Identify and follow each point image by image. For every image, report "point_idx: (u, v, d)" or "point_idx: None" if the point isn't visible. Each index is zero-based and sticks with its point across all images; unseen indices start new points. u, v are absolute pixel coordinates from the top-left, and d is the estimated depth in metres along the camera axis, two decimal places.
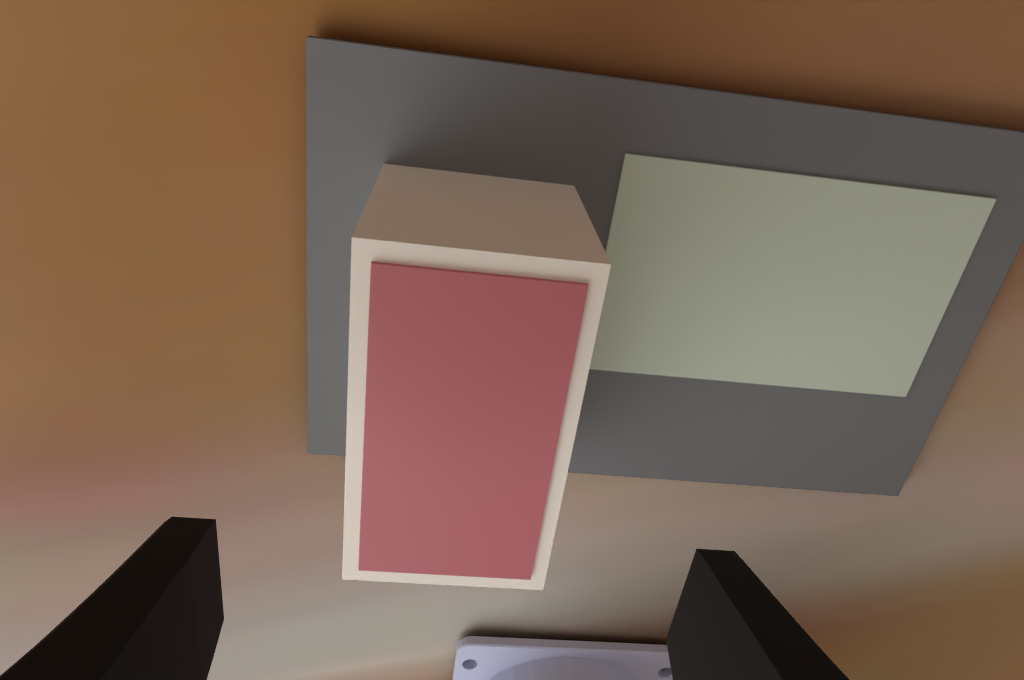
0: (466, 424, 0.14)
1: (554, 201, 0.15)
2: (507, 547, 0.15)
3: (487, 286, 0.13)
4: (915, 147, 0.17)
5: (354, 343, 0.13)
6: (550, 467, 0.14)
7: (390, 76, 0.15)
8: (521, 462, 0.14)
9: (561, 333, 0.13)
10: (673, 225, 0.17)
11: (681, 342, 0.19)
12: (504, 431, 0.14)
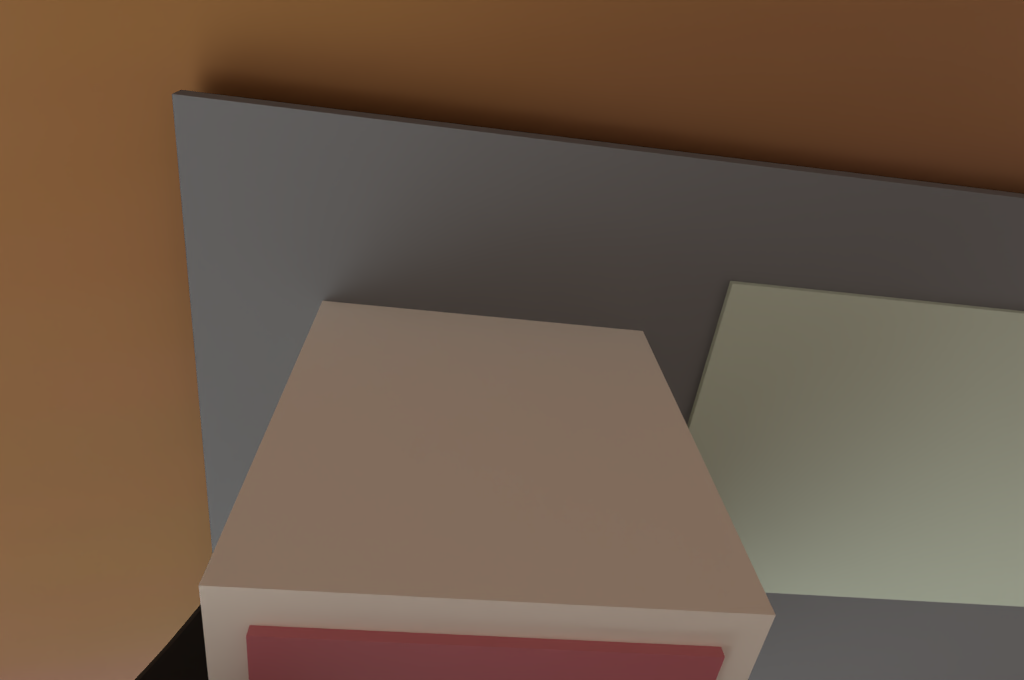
0: None
1: (618, 382, 0.09)
2: None
3: (507, 657, 0.06)
4: None
5: None
6: None
7: (328, 160, 0.09)
8: None
9: None
10: (800, 387, 0.11)
11: (795, 547, 0.12)
12: None
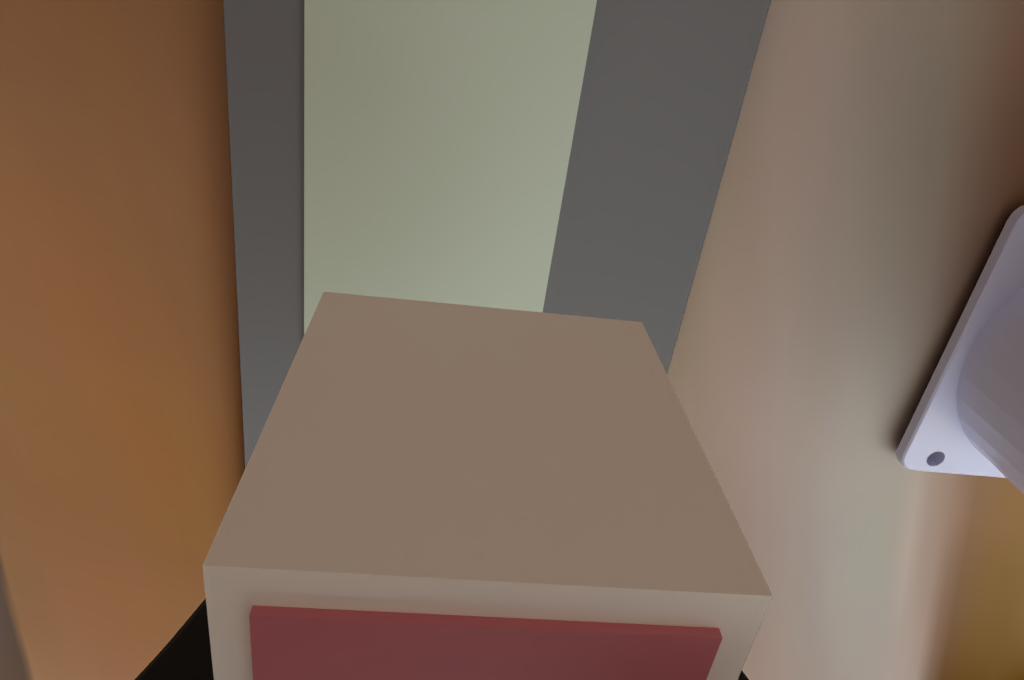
0: None
1: (617, 371, 0.09)
2: None
3: (507, 639, 0.06)
4: (257, 44, 0.14)
5: None
6: None
7: None
8: None
9: None
10: (371, 293, 0.17)
11: (507, 270, 0.17)
12: None
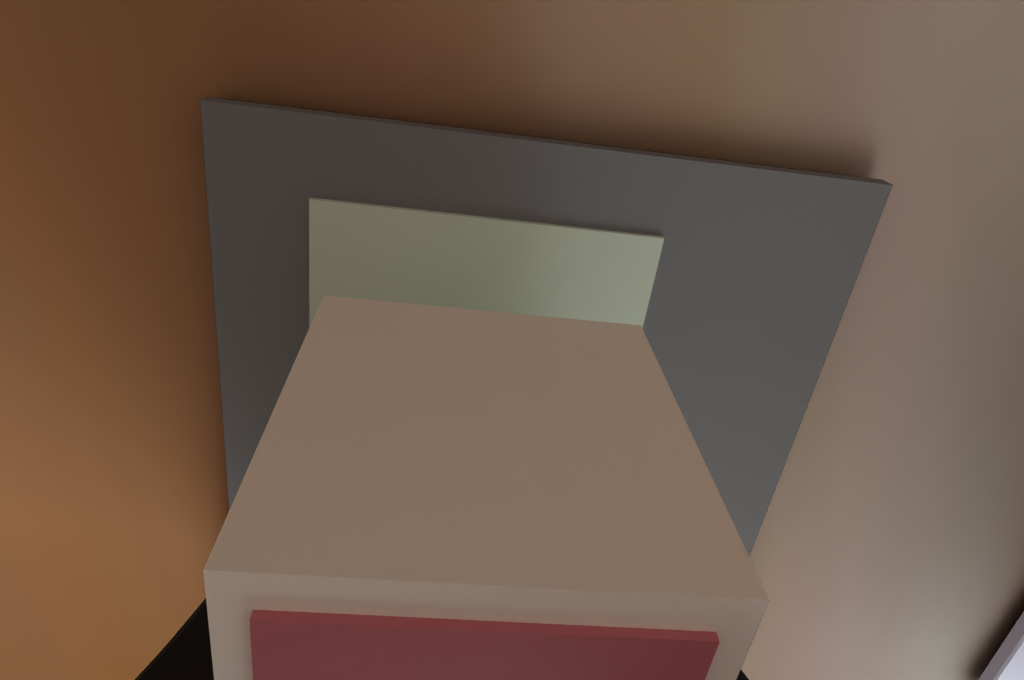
0: None
1: (616, 375, 0.09)
2: None
3: (504, 642, 0.06)
4: (253, 330, 0.12)
5: None
6: None
7: None
8: None
9: None
10: None
11: None
12: None
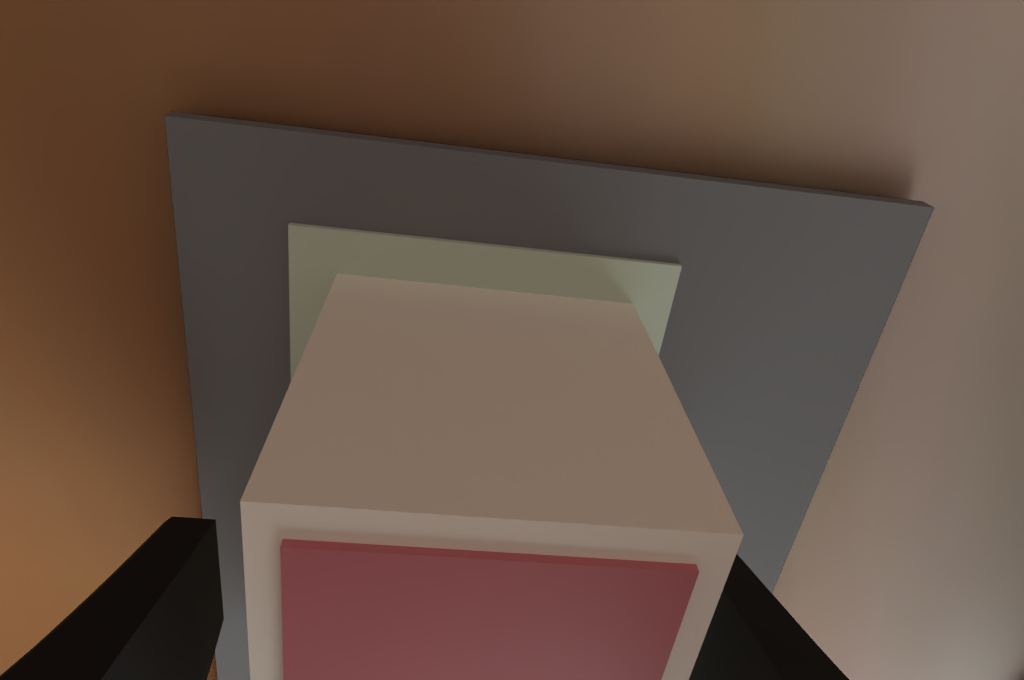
0: None
1: (609, 346, 0.10)
2: None
3: (507, 572, 0.07)
4: (229, 366, 0.11)
5: (259, 661, 0.07)
6: None
7: None
8: None
9: (642, 643, 0.07)
10: None
11: None
12: None
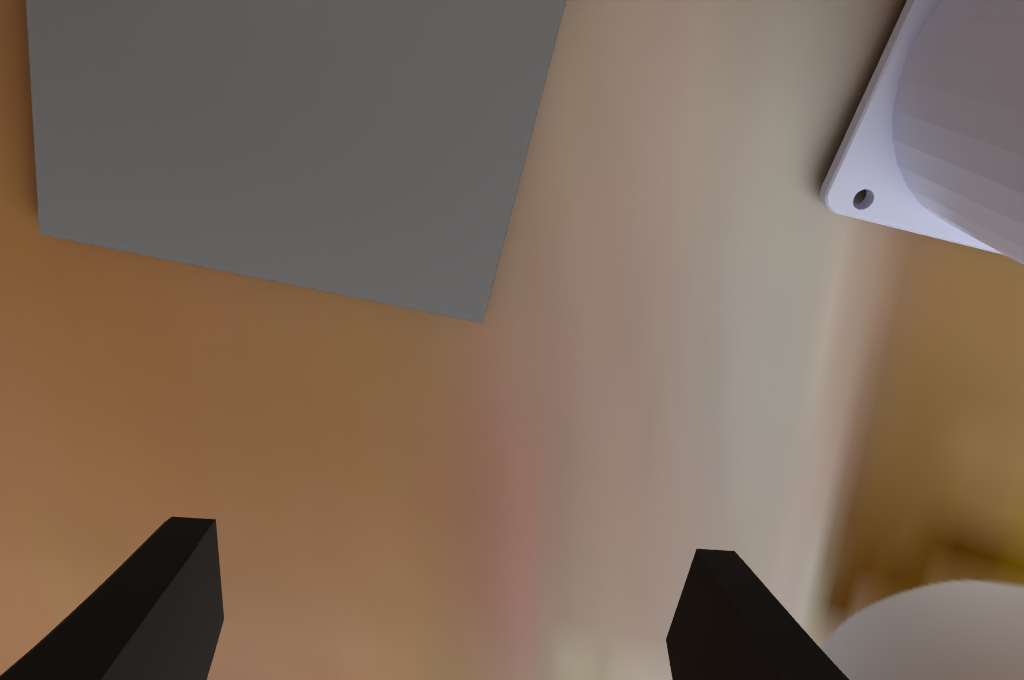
0: None
1: None
2: None
3: None
4: None
5: None
6: None
7: (61, 167, 0.16)
8: None
9: None
10: None
11: None
12: None
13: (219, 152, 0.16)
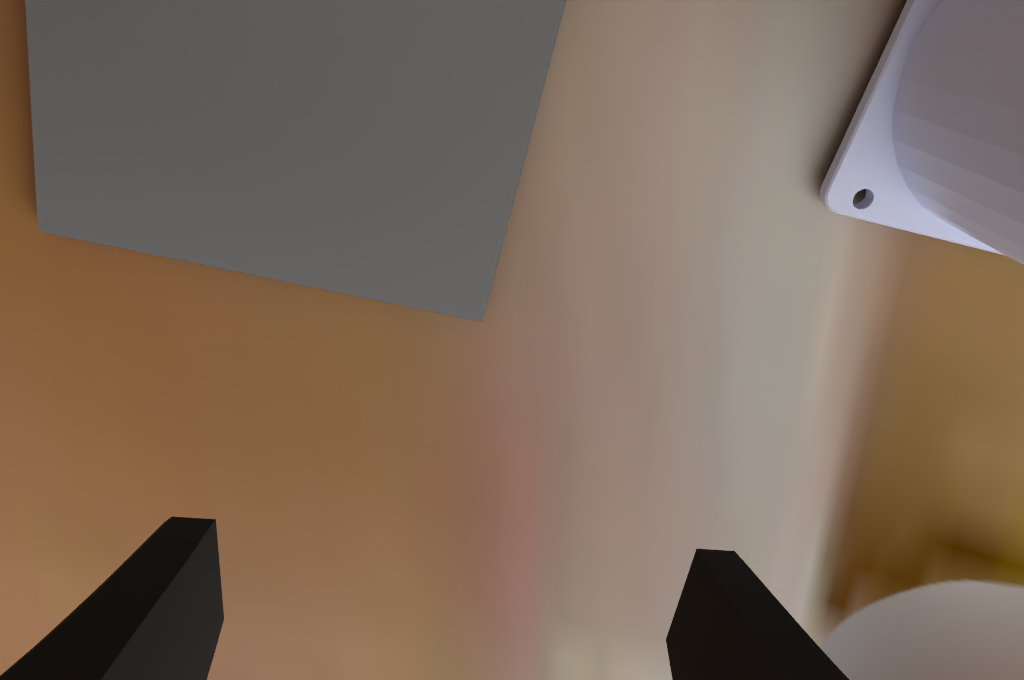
0: None
1: None
2: None
3: None
4: None
5: None
6: None
7: (60, 164, 0.16)
8: None
9: None
10: None
11: None
12: None
13: (218, 150, 0.16)
